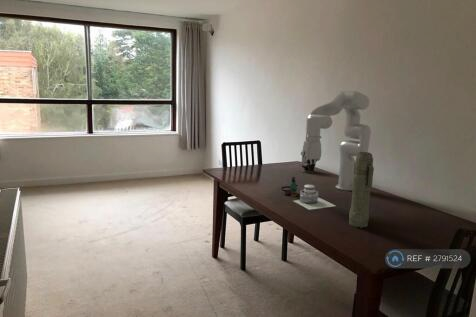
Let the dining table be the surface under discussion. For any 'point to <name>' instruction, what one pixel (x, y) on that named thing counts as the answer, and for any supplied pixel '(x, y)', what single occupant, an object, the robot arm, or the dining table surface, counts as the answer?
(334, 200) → the dining table surface
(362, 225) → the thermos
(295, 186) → the binoculars
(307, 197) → the grey ring
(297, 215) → the dining table surface
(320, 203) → the mat
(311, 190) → the cap
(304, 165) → the apothecary jar
